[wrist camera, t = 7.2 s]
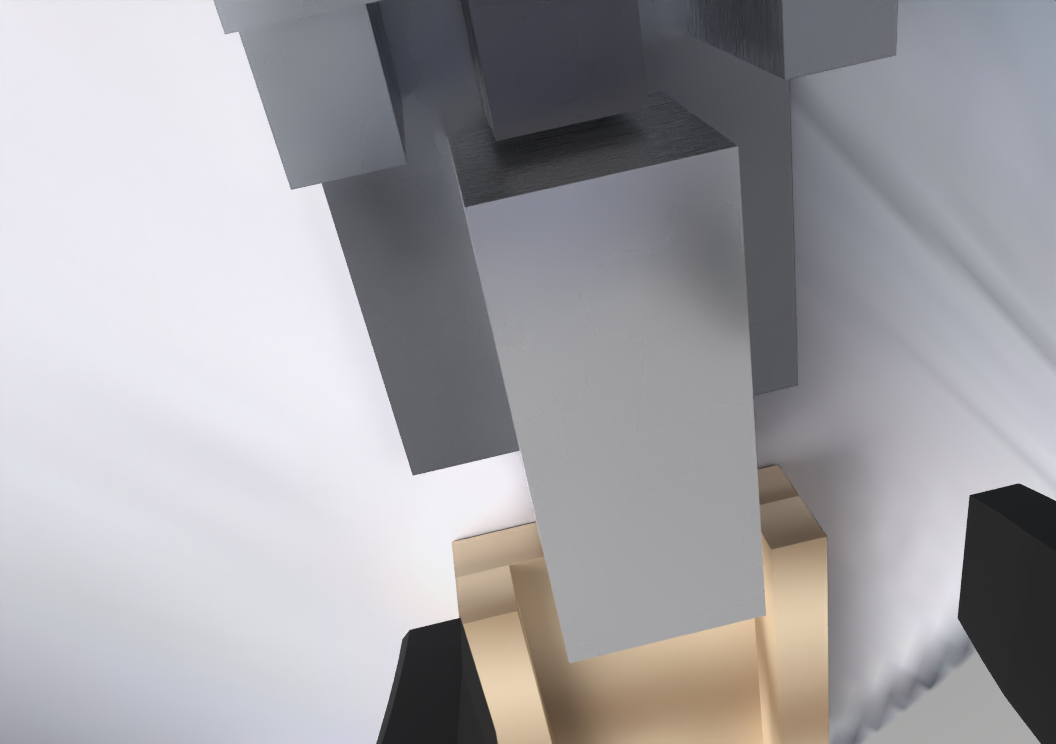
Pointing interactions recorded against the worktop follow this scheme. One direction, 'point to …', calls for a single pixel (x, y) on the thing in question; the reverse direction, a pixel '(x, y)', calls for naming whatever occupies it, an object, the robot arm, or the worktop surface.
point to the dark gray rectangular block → (555, 61)
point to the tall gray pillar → (625, 365)
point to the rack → (654, 649)
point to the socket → (456, 109)
